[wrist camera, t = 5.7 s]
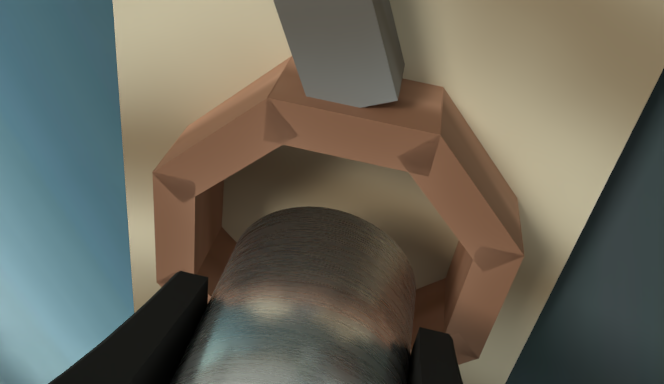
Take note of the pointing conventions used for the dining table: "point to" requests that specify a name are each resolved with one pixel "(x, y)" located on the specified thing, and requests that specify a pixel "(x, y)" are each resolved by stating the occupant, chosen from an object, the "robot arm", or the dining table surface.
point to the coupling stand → (385, 138)
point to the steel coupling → (307, 306)
